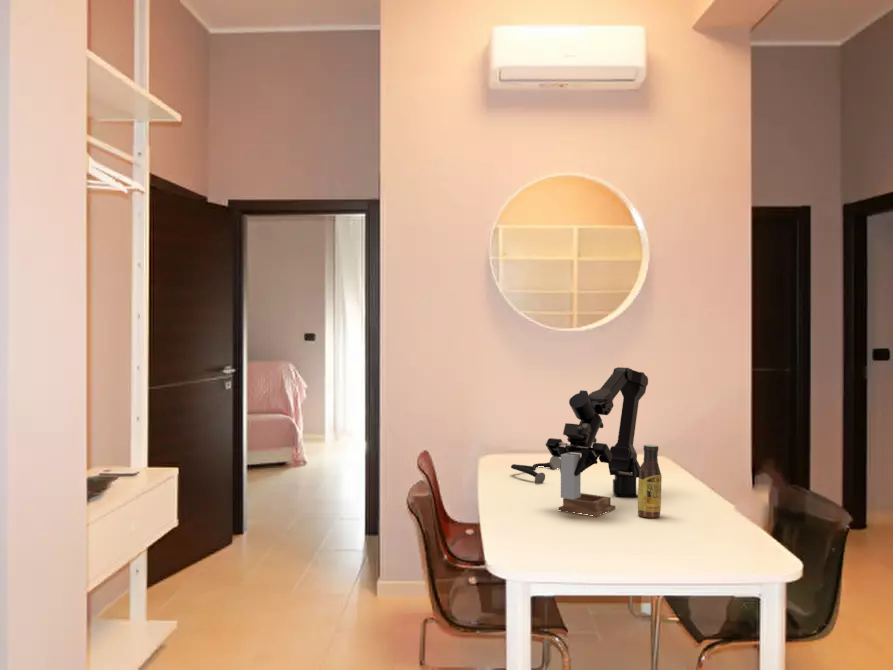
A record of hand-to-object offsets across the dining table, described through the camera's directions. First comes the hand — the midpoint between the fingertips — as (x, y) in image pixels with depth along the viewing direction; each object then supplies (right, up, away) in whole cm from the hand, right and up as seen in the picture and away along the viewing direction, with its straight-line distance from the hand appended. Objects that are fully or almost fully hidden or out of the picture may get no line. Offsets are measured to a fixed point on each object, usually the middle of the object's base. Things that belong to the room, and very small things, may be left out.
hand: (568, 474), depth 216 cm
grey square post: (+1, -7, +1) cm, 7 cm away
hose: (0, -12, +63) cm, 64 cm away
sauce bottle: (+23, -12, +2) cm, 26 cm away
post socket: (+7, -12, +9) cm, 16 cm away
